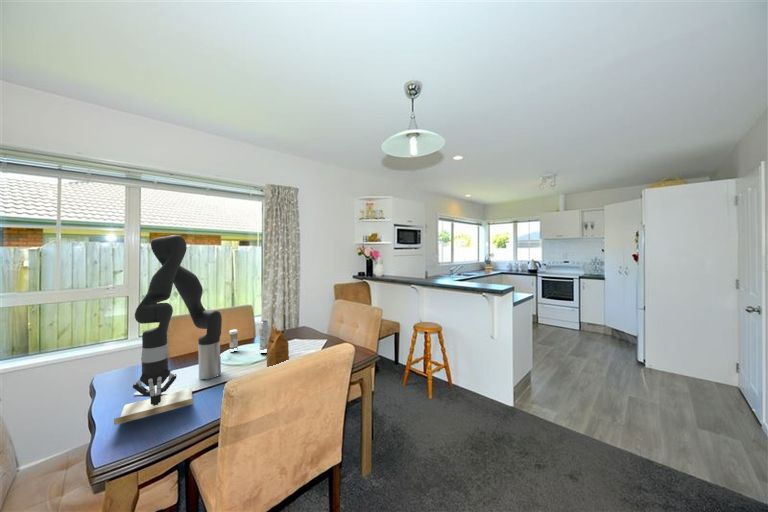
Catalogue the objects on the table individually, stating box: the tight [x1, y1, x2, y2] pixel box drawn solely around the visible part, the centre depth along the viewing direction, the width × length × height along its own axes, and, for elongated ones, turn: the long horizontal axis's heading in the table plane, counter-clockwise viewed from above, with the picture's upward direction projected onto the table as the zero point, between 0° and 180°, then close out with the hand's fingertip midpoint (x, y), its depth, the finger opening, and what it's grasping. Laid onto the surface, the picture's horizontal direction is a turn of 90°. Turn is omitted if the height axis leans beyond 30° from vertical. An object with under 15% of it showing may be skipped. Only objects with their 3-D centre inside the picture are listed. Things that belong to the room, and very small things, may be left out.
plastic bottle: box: [258, 320, 271, 350], centre depth 170 cm, size 6×7×20 cm
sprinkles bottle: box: [228, 329, 239, 350], centre depth 174 cm, size 5×5×13 cm
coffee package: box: [265, 326, 290, 368], centre depth 149 cm, size 10×12×22 cm
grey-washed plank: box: [120, 388, 193, 417], centre depth 113 cm, size 22×10×2 cm, turn 126°
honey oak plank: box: [113, 397, 194, 426], centre depth 104 cm, size 22×12×2 cm, turn 126°
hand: (155, 404), depth 102 cm, fingers closed
